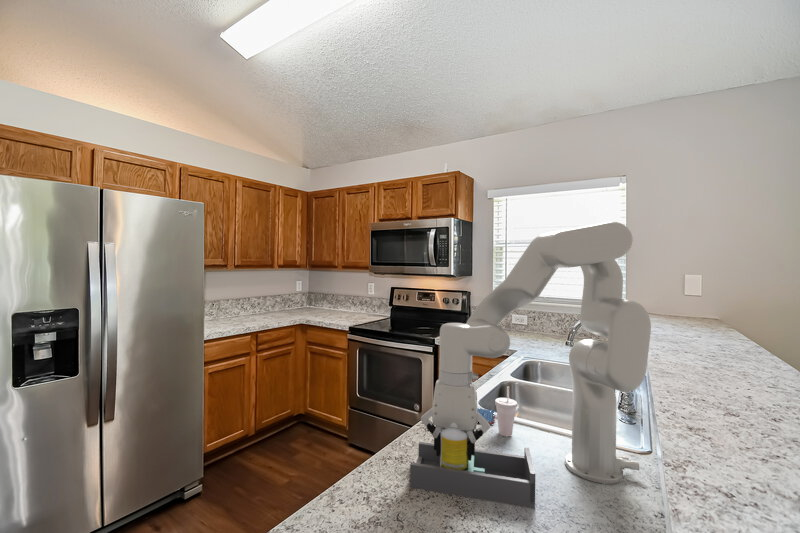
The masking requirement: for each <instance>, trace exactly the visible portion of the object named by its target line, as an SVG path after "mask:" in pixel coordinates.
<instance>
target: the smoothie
mask: <svg viewBox="0 0 800 533" xmlns="http://www.w3.org/2000/svg"><path fill="white" fill-rule="evenodd" d="M494 404H495V406H496V417H497V426H498V434H499V435H500V436H501V437H505V436H506V438H508V437H507V436H510V437H512V436H513V429H514V424H515V416H516V411H517V410H516V409H517V407H518V402H517V400H515V399H512V398H510V386H507V387H506V397H498V398H497V397H496V399H495V400H494ZM511 435H512V436H511Z"/></svg>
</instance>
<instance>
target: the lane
mask: <svg viewBox="0 0 800 533" xmlns="http://www.w3.org/2000/svg"><path fill="white" fill-rule="evenodd" d="M523 453H524V454H523V455H521V454H520V455H519V454H512V453H511V454H510V453H506V452H505V453H504V452H498V451H497V452H496V451H489V450H483V449H476V448H475V456H474V467H476V468H483V469H485V473H478V472H471V471H468V470H467V471H465V470H458V469H452V468H445V467H441V466H440V456H436V450H434V443H431V442H423V441H419V442H418V456H417V459H416V462H412V461H411V462H410V464H409V466H410V467H409V468H410V469H409V470H410V471H409V472H410V473H409V488H411V489H416V490H421V491H427V492H428V491H429V492H435V493H439V494H440V493H441V494H445V495H450V496H451V495H452V496H458V497H464V498H469V499H475V500H481V501H486V502H494V503H499V504H505V505H510V506H517V507H521V508H527V509H528V508H529V509H534V510H535V509H536V470H535V467H534V463H533V459H532V455H531V451H530V448H529V447H524V452H523ZM468 462H469V460H468Z"/></svg>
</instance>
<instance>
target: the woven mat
mask: <svg viewBox="0 0 800 533" xmlns="http://www.w3.org/2000/svg"><path fill="white" fill-rule="evenodd" d="M477 411H478V412H479V413H480V414H481V415H482V417H483V418H484V419H485V420H486V421H487V422H488V423H489V424H490V425H491V424H493V425H494V424H495V422H496V421H495V417H496V415H495V416H493V415H494V414H493V413H494V412H495V410H494V409H493V410H491V409H486V408H481V407H480V408H478V407H477ZM490 411H491V412H490ZM477 422H478V421H477Z"/></svg>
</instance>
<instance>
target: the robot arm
mask: <svg viewBox="0 0 800 533" xmlns="http://www.w3.org/2000/svg"><path fill="white" fill-rule="evenodd" d="M632 245H633V235H632V231H631V230H630V228H629V227H627V226H626V225H625V224H624V223H621V222H618V221H608V222H607V221H606V222H602V223H596V224H595V223H594V224H590V225H585V226H579V227H577V228H570V229H562V230H556V231H550V232H546V233H542V234H540V235H538V236H536V237H535V238H534V239H532V241H531V242H530V244H528V246H527V248H525V251H523V253H522V254H521V256H520V258H519V259H518V261H517V262H516V263H515V265H514V266H513V268H512V269H511V271H510V272H509V274H508V275H507V276H506V278H504V280H503V281H502V282H500V284H498V285H497V286H496V287H495V288H494V289H493V290H492V291H491V292H490V293H489V294H488V295H486V296H485V297H484V298H483V300H481V302H480V303H479V304H478V305H477V307H476V308H475V309H474V311H473V312H472V313H471V315H470V316H469V318H468V319H467V320H466V322H465V323H462V322H447V323H444V324H441V326H440V328H439V359H438V360H439V364H438V366H439V367H438V370H439V371H438V379H437V380H436V382H435V386H434V392H433V399H432V400H433V401H432V407H431V408H430V409H428V410H427V411H426V412H424V414H422V415H421V417H420V422H422V423H423V425H424V426H425V427H426V429H427V431H429V433H430V434H431V435H432V438H433V444H434V450H436V456H440V432H441V429H442V428H454V429H459V430H466V431H467V434H468V436H469V441H468V460H469V461H471V457H472V455H474V456H475V449H476V442H477V441H478V440H479V439H481V438H482V436H484V434H485V433H486V432H487V431H488V430H489V429H490V428H491V424H489V423H488V422H487V421H486V420H485V419H484V418H483V417H482V415H481V414H480V413H479V412H478V411H477V408H478V394H477V393H478V392H477V386H476V383H475V382H474V381H479V374H478V373H476V372H474V371H473V356H475V357H482V358H487V359H489V358H490V359H495V358H500V357H502V356H504V355H506V353H507V352H508V351H509V348H510V347H511V346H510V345H511V339H510V336H509V333H508V332H507V330H506V329H504V328H503V327H502V326H500V323H501V322H502V321H503V320H504V319H505V318H506V317H508V315H510V314H511V313H513V312H514V311H516V310H518V309H520V308H523V307H526V306H528V305H530V304H532V303H534V302H535V301H537V300H538V298H539V297H540V295H541V294H542V292H543V291H544V289H545V288H546V286H547V285H548V283H549V282H550V281H551V279H552V278H553V276H554V274H555V273H556V272H557V270H558V269H560V268H561V269H562V268H568V269H569V268H576V267H577V268H578V267H580V269H581V271H582V275H583V287H582V289H583V290H582V297H581V306H580V312H579V313H580V314H579V315H580V316H579V318H580V320H579V321H580V325H581V327H582V328H583V329H584V331H586V332H588V333H590V334H593V335H597V336H600V337H605V338H607V342H605V341H601V340H597V339H592V338H591V339H590V338H589V339H588V338H587V339H585V338H584V339H580V340H579V341H577V342H575V343H574V344H573V345H572V347H570V351H569V354H568V363H569V370H570V375H571V384H572V411H571V412H572V414H571V417H572V419H571V420H572V421H571V423H572V424H571V452H569V453H567V454H566V455H565V457H564V464H565V466H566V468H567V469H568V470H569V471H570V472H571V473H574V474H575V475H577V476H578V477H581V478H583V479H585V480H588V481H590V482H595V483H599V484H607V485H608V484H611V485H612V484H618V483H620V482H622V481H623V479H624V470H625V469H627V470H628V469H629V470H633V471H640V463H639V461H638V460H636V461H635V460H630V459H629V456H625V455H618V453H617V407H618V405H617V404H618V403H617V396H616V391H618V392H624V393H629V392H633V391H635V390H636V389H638V388H639V387H640V386H641V385H642V383H643V382H644V380H645V377H646V372H647V368H648V367H647V366H648V359H649V350H650V342H651V331H652V324H651V323H652V322H651V318H650V316H649V313H648V311H647V310H646V308H645V307H644V306H643V305H642V304H641V303H639V302H637V301H634V300H631V299H626V298H625V299H624V298H623V288H624V277H623V273H622V269H621V267H620V265H619V263H618V261H617V259H619V258H622V257H623V256H625V255H626V254H627V253H629V251H630V249H631V248H632ZM615 390H616V391H615ZM431 417H432V418H431ZM430 418H431V419H432V421H430ZM477 421H478V422H479V424H480V427H478V428H477V425H478V424H477ZM452 423H455V424H456V425H457V426H458V427H450V425H451V424H452Z"/></svg>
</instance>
